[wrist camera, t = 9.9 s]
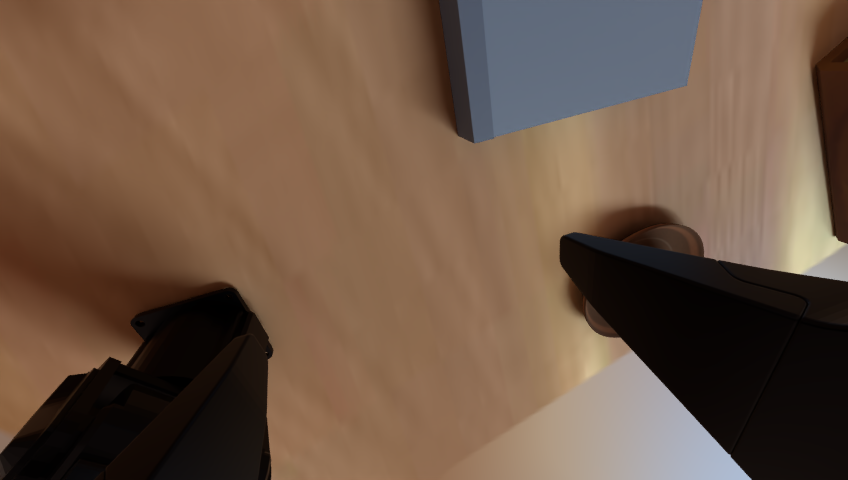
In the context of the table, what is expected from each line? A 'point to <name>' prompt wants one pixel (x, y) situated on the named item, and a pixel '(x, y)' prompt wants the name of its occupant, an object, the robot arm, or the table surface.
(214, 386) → the robot arm
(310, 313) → the table surface
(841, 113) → the diary
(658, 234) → the cup and saucer
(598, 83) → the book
